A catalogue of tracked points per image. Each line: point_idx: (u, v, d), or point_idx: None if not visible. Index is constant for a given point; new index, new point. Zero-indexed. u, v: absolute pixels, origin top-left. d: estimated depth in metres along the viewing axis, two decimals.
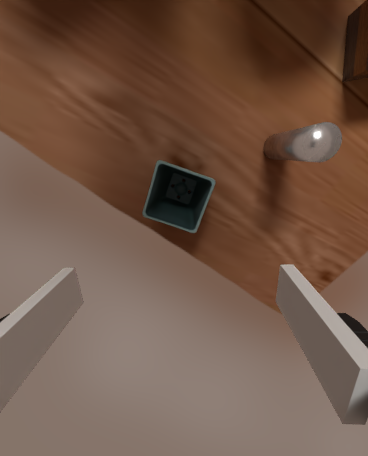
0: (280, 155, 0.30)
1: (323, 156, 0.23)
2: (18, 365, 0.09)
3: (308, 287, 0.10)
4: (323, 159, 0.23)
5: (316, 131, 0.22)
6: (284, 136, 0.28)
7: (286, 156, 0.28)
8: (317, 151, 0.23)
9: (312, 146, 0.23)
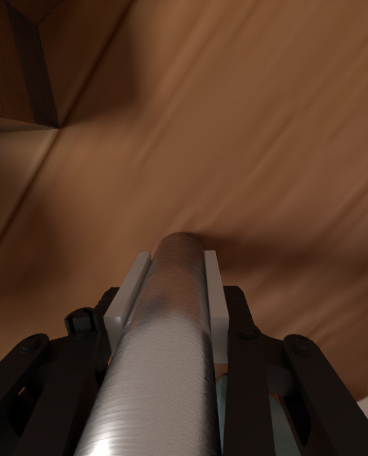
0: None
1: None
2: None
3: (214, 266, 0.13)
4: None
5: None
6: None
7: None
8: None
9: None
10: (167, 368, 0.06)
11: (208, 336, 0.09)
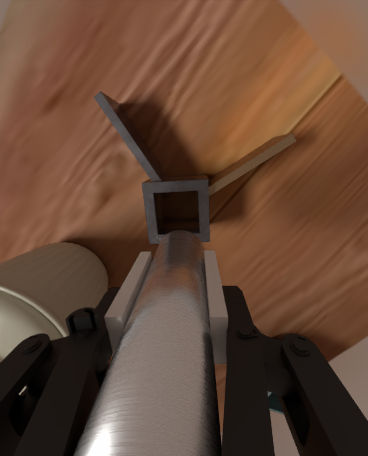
0: None
1: None
2: None
3: (213, 266, 0.13)
4: None
5: None
6: None
7: None
8: None
9: None
10: (169, 353, 0.07)
11: (208, 326, 0.09)
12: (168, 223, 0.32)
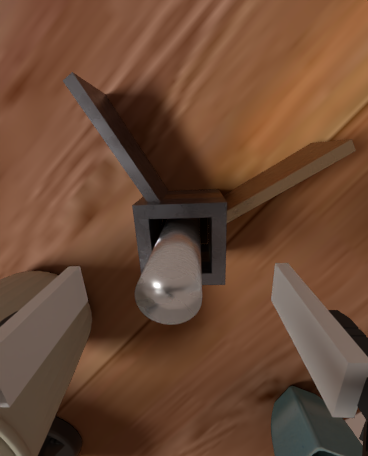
0: None
1: (192, 294, 0.12)
2: (26, 361, 0.09)
3: (301, 285, 0.11)
4: (198, 293, 0.12)
5: (148, 306, 0.13)
6: None
7: None
8: (182, 303, 0.12)
9: (173, 311, 0.13)
10: (178, 248, 0.14)
11: (198, 248, 0.17)
12: None
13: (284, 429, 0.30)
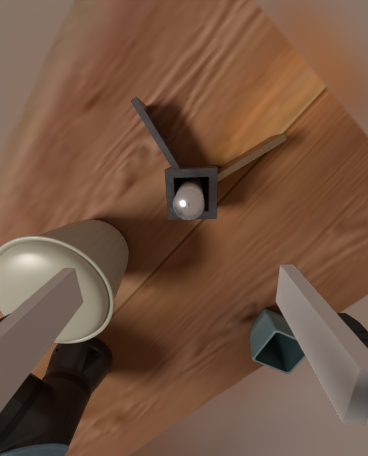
0: None
1: (199, 202, 0.26)
2: (18, 365, 0.09)
3: (308, 287, 0.10)
4: (202, 202, 0.26)
5: (179, 210, 0.27)
6: None
7: None
8: (195, 208, 0.27)
9: (190, 212, 0.27)
10: (192, 186, 0.28)
11: (202, 191, 0.31)
12: None
13: (257, 331, 0.44)
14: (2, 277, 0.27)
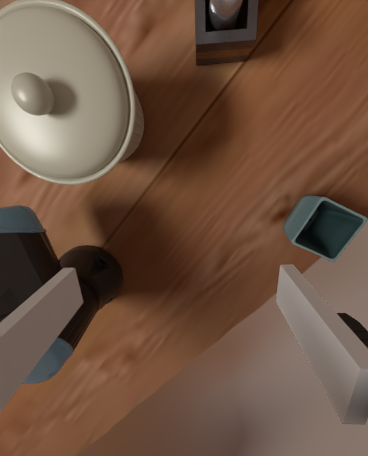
0: (233, 20, 0.28)
1: None
2: (18, 365, 0.09)
3: (308, 287, 0.10)
4: None
5: None
6: (215, 16, 0.27)
7: (236, 10, 0.26)
8: None
9: None
10: None
11: None
12: None
13: (294, 217, 0.38)
14: None
